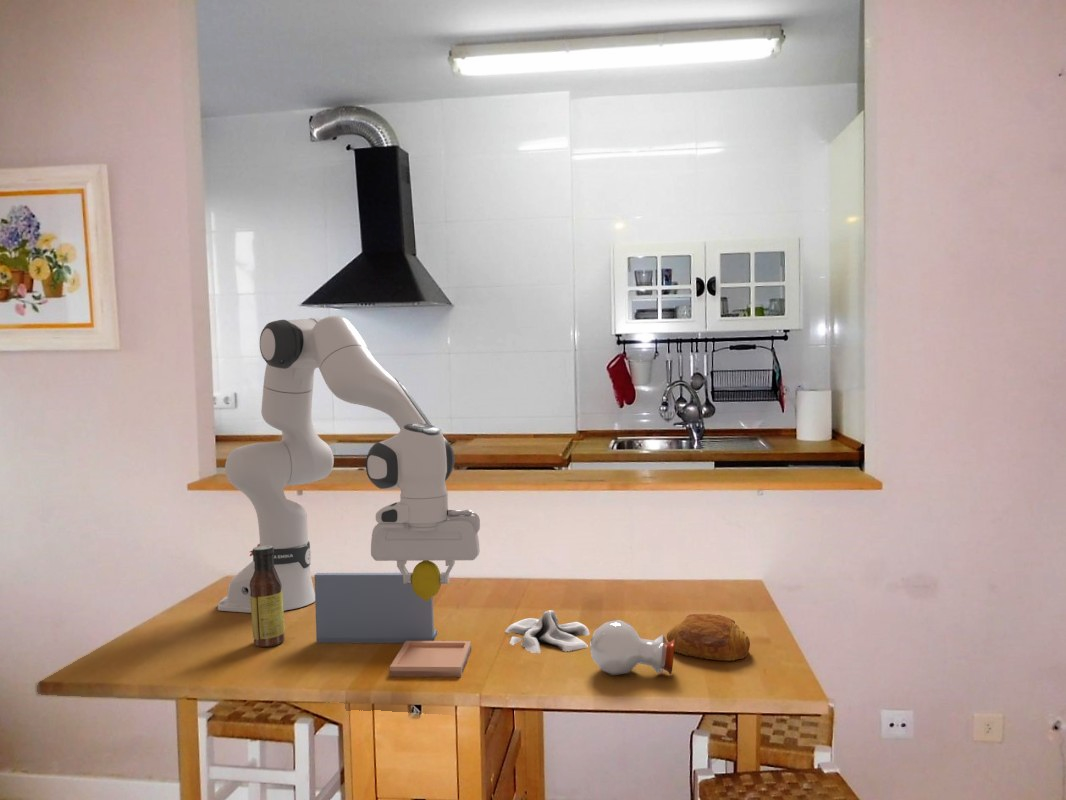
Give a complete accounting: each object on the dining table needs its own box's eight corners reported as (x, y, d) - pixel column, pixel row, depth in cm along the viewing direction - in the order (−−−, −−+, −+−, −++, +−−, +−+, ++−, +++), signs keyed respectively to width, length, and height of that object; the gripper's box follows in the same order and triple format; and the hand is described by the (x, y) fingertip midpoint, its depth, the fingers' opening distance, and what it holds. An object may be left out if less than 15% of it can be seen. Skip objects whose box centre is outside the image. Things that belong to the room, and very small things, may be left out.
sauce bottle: (291, 639, 159) (288, 544, 158) (272, 649, 153) (268, 551, 152) (265, 636, 161) (262, 542, 160) (245, 646, 155) (241, 549, 154)
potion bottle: (586, 675, 141) (668, 689, 138) (585, 661, 133) (672, 676, 130) (593, 625, 146) (673, 638, 143) (592, 609, 137) (677, 622, 135)
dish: (390, 676, 138) (389, 666, 138) (406, 649, 151) (406, 640, 151) (461, 676, 138) (460, 667, 138) (471, 650, 151) (471, 641, 151)
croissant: (737, 681, 139) (743, 640, 138) (657, 654, 147) (662, 615, 146) (758, 653, 151) (763, 614, 150) (683, 629, 159) (687, 593, 158)
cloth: (508, 622, 168) (507, 594, 168) (592, 623, 166) (592, 596, 166) (492, 661, 146) (491, 630, 146) (589, 664, 144) (589, 631, 144)
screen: (316, 642, 156) (314, 575, 156) (324, 634, 161) (322, 568, 161) (432, 643, 155) (430, 574, 154) (437, 634, 160) (435, 568, 159)
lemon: (435, 606, 141) (434, 563, 140) (407, 604, 142) (406, 562, 142) (445, 597, 146) (444, 556, 146) (418, 596, 147) (417, 555, 147)
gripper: (481, 506, 146) (483, 578, 146) (376, 507, 147) (378, 578, 148) (477, 513, 139) (478, 587, 140) (367, 513, 141) (369, 588, 141)
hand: (426, 583), depth 144 cm, fingers closed on lemon, 6 cm apart
